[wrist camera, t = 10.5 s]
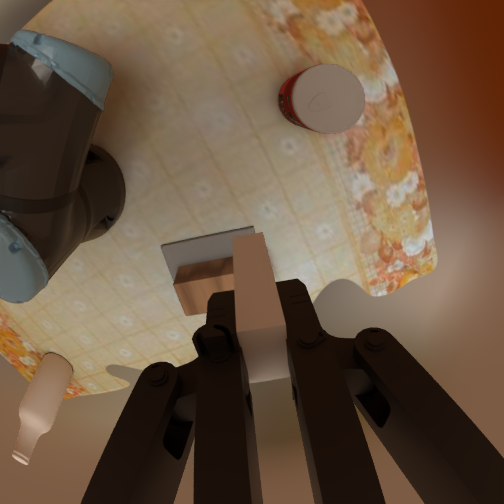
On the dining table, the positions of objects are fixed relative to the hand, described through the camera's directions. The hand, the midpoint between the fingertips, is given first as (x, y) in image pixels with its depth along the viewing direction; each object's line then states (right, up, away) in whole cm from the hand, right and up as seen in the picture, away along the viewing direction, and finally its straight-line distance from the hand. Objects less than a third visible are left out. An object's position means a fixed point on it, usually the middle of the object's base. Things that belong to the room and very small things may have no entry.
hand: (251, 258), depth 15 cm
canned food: (+7, +21, +21) cm, 30 cm away
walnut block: (+3, -3, +29) cm, 30 cm away
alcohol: (-49, -28, +43) cm, 71 cm away
